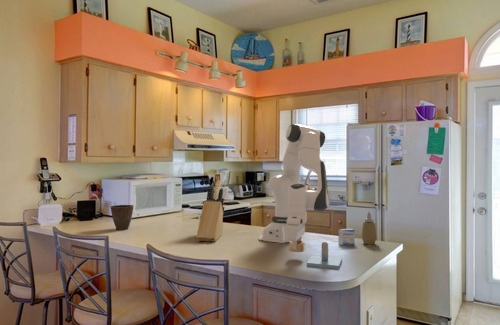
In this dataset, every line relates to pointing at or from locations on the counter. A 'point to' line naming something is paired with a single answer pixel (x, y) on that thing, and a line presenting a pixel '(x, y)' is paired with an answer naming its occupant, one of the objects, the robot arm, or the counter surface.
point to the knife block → (211, 217)
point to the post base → (325, 263)
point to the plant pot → (122, 216)
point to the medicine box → (346, 237)
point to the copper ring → (299, 246)
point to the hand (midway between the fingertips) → (296, 246)
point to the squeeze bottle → (369, 231)
